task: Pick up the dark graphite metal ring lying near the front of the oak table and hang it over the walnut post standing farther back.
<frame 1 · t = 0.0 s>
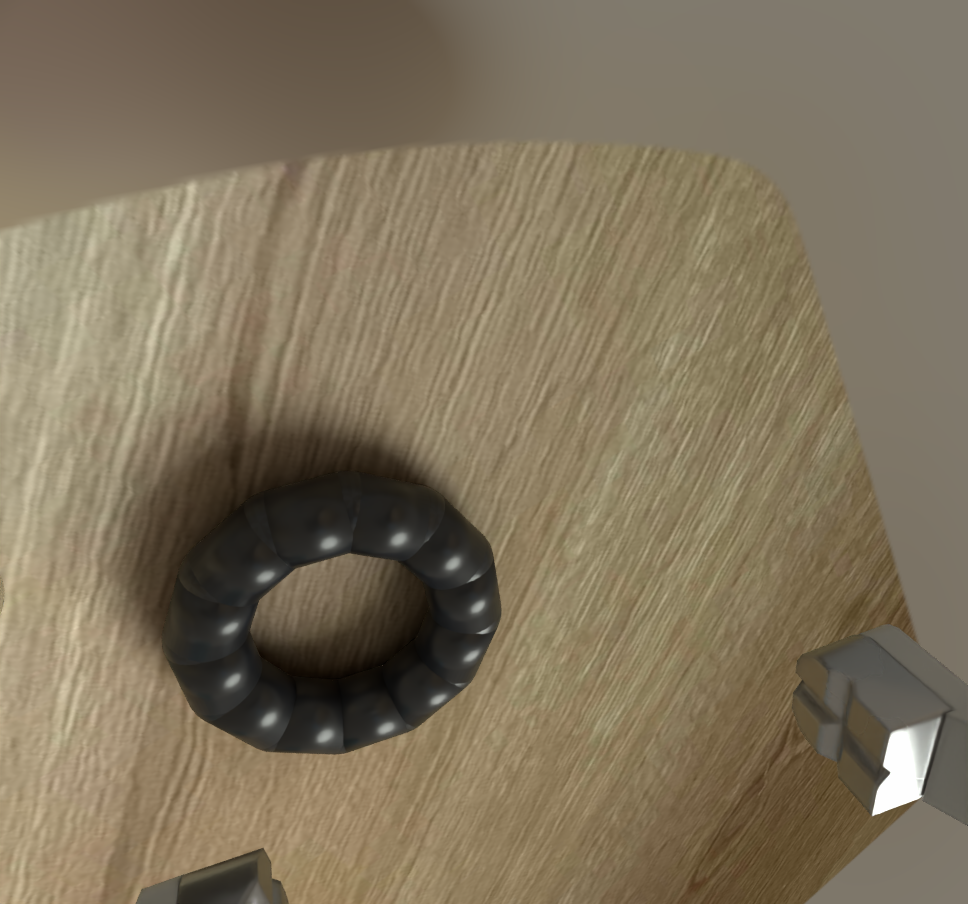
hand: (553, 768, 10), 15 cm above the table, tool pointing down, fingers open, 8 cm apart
ring: (343, 621, 25), point 1 cm above the table
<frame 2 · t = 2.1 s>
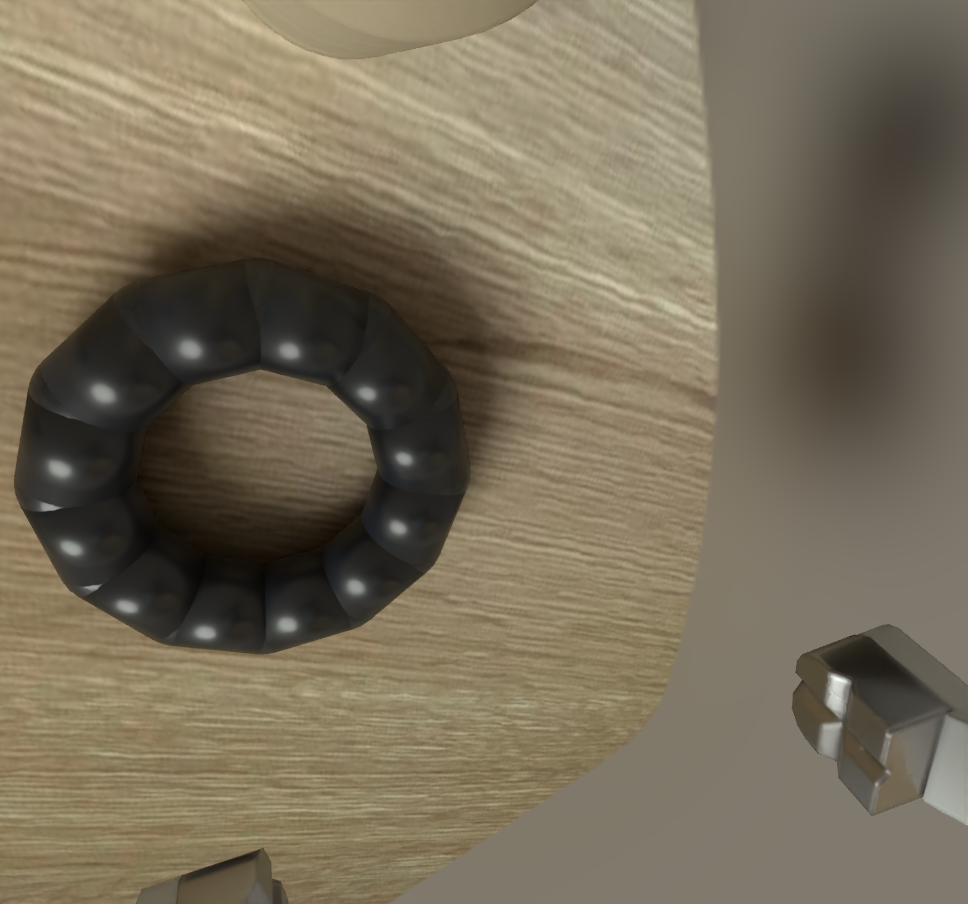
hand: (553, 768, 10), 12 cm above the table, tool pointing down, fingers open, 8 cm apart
ring: (262, 476, 19), point 1 cm above the table
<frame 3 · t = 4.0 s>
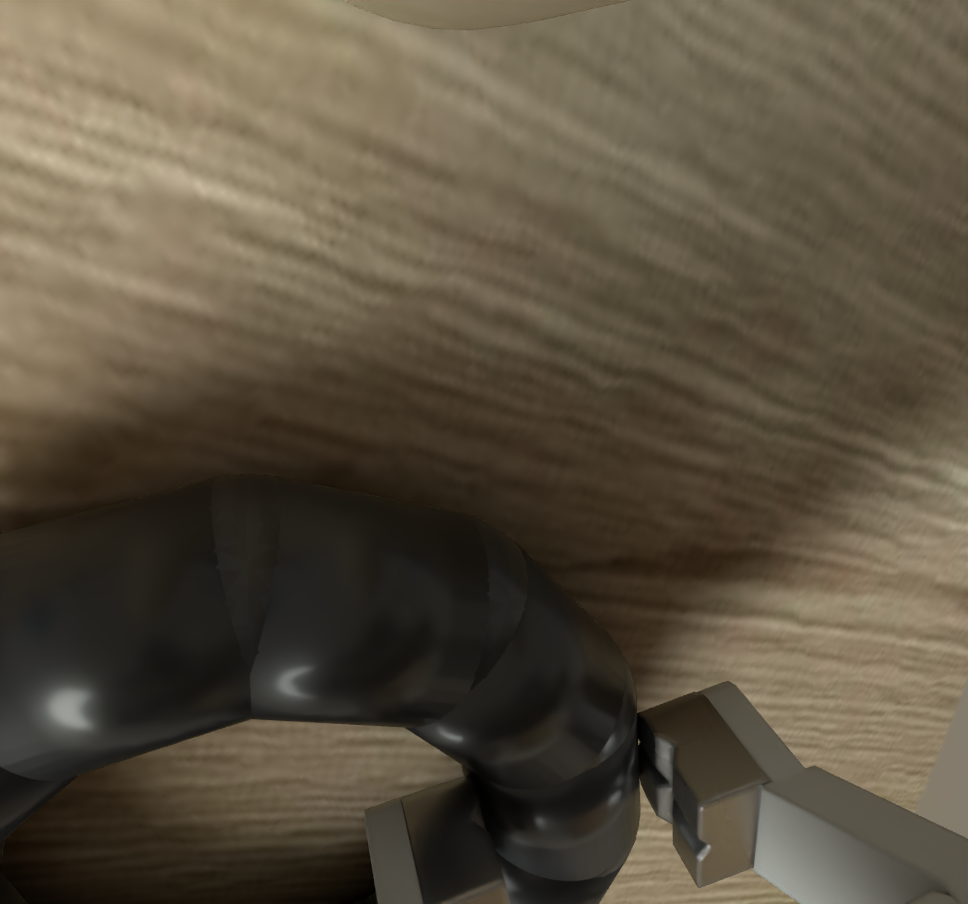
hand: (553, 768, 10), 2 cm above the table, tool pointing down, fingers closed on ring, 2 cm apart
ring: (256, 856, 10), point 1 cm above the table, touching gripper
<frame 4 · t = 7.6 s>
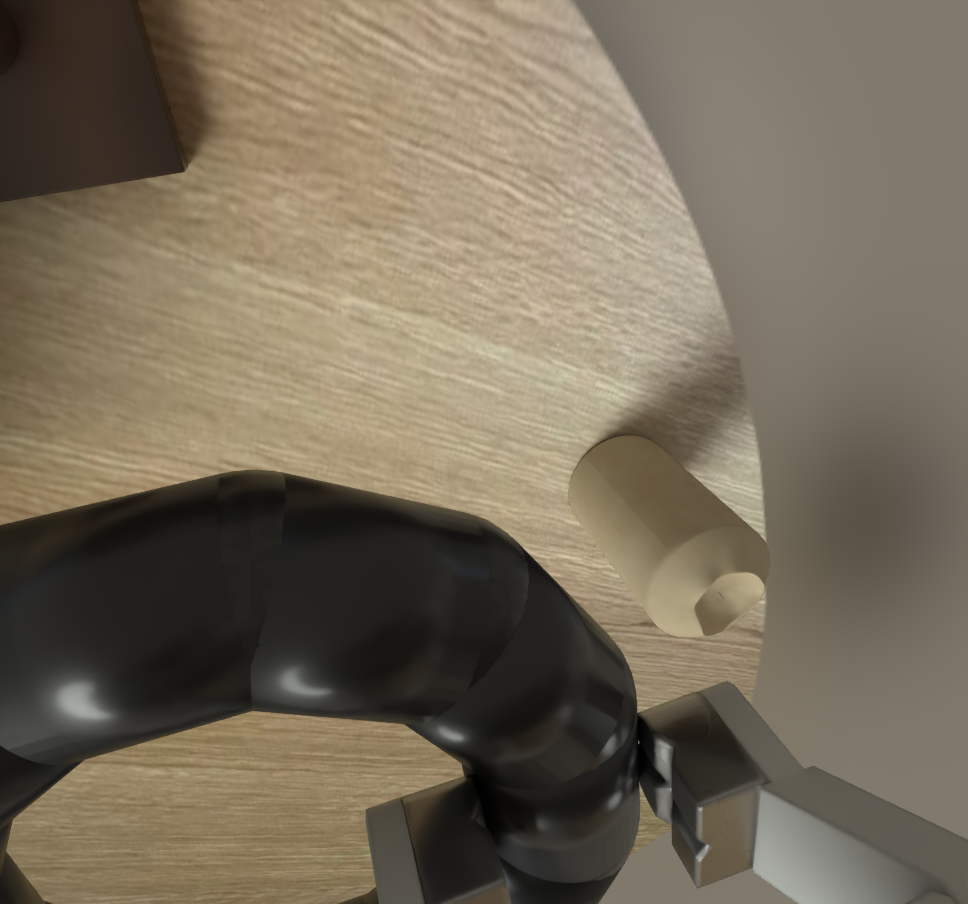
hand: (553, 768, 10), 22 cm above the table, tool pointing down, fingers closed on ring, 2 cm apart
candle: (615, 480, 36), on the table
ring: (256, 847, 10), point 21 cm above the table, touching gripper
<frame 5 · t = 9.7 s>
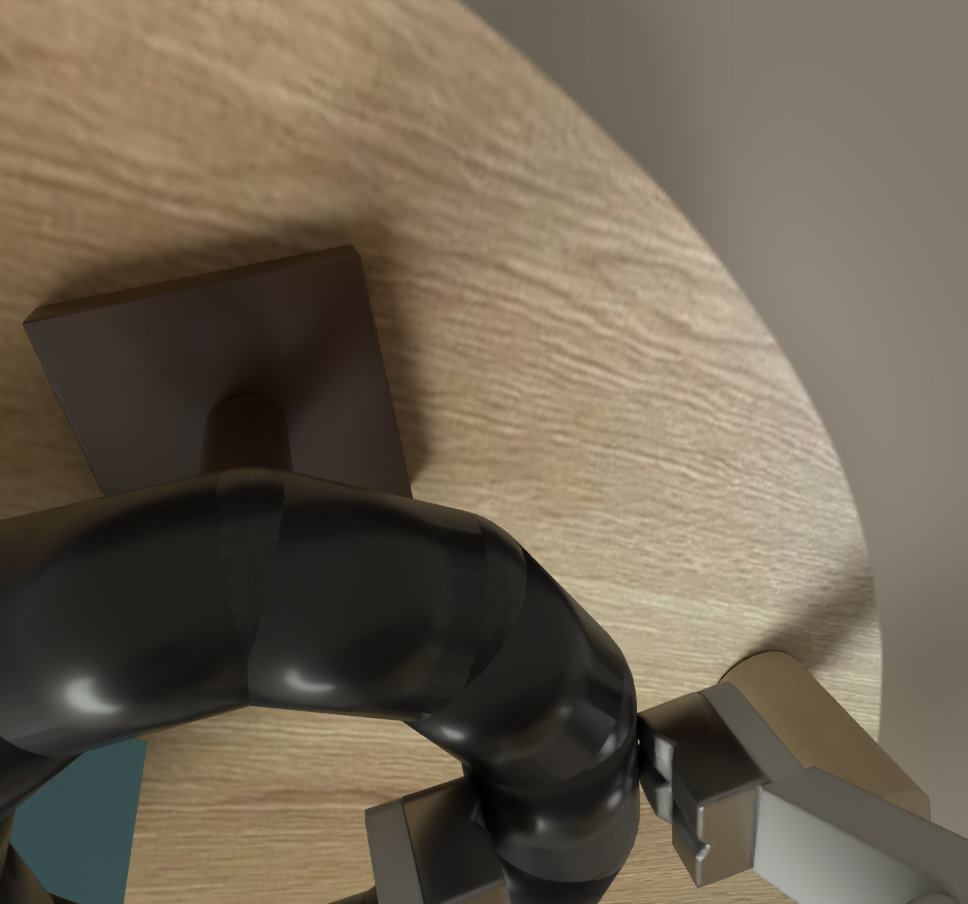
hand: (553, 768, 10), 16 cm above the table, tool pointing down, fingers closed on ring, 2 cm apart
stand: (246, 411, 23), on the table
candle: (751, 687, 38), on the table
ring: (256, 842, 10), point 15 cm above the table, touching gripper
when the fingers open (12 cm above the table, at t = 11.2 s): ring drops 8 cm, resting on stand.
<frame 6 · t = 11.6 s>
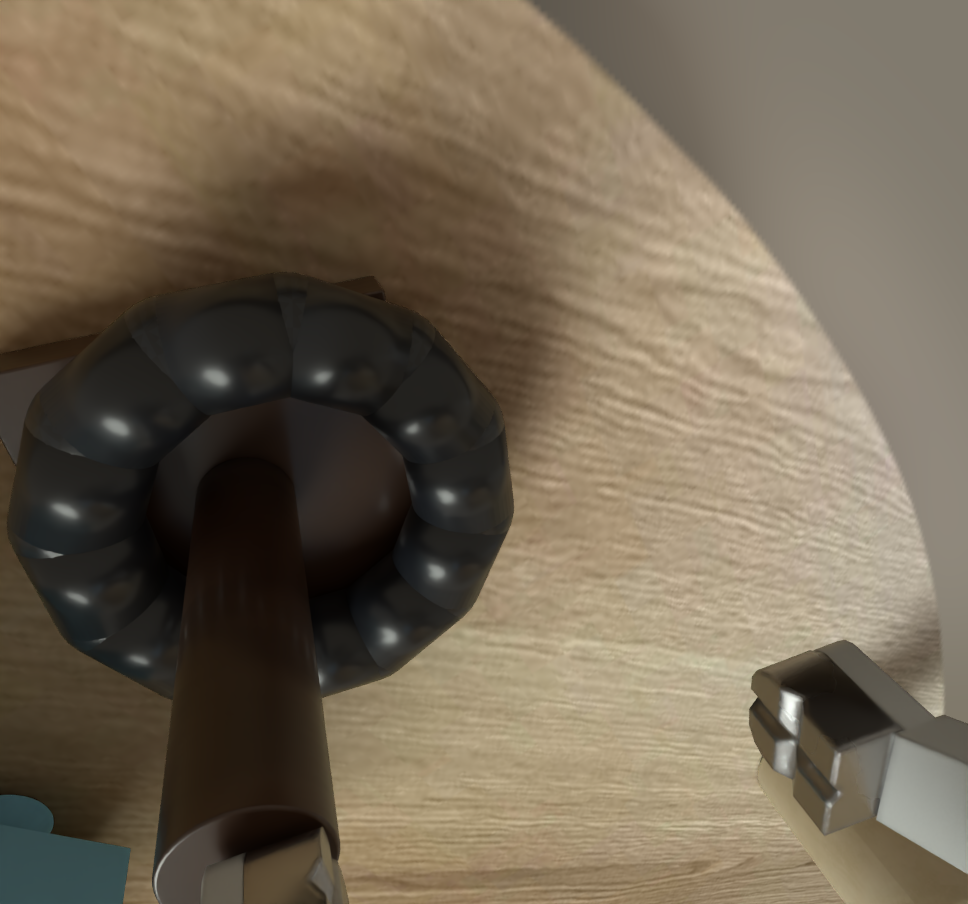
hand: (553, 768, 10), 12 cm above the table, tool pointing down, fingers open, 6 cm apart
stand: (246, 471, 19), on the table
candle: (803, 749, 34), on the table
ring: (286, 513, 17), point 3 cm above the table, touching stand
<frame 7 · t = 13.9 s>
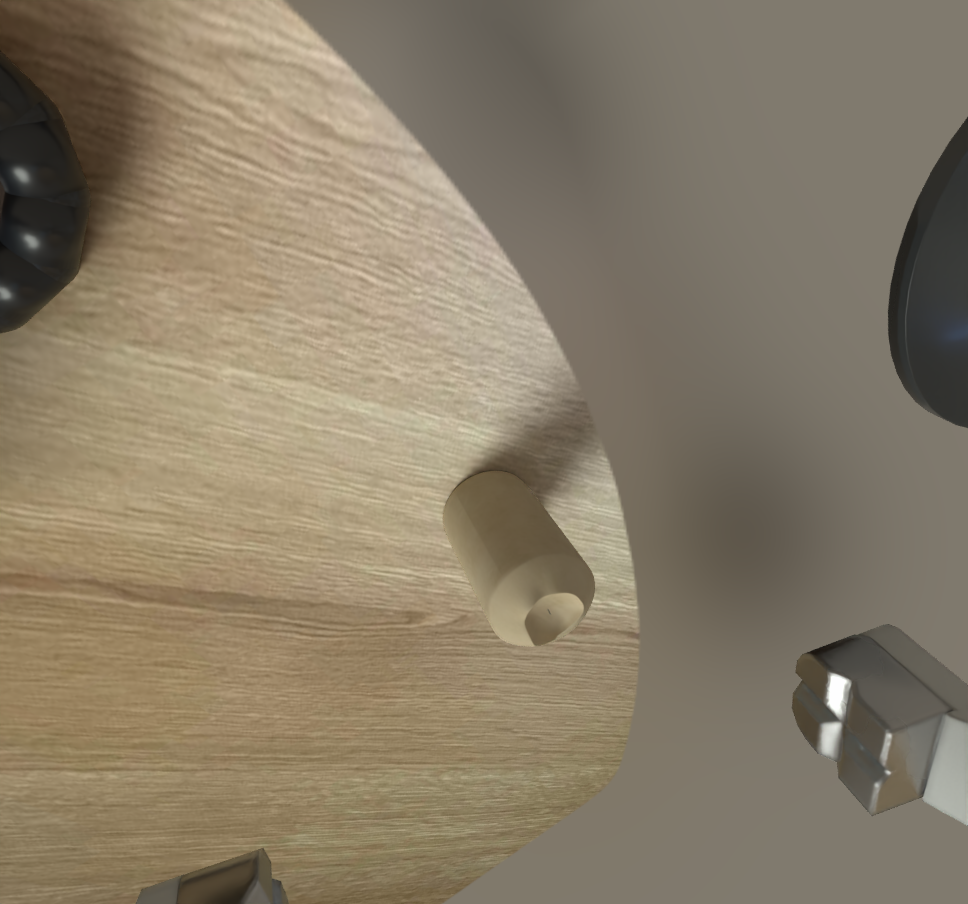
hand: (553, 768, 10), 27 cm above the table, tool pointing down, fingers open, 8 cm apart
candle: (486, 509, 41), on the table
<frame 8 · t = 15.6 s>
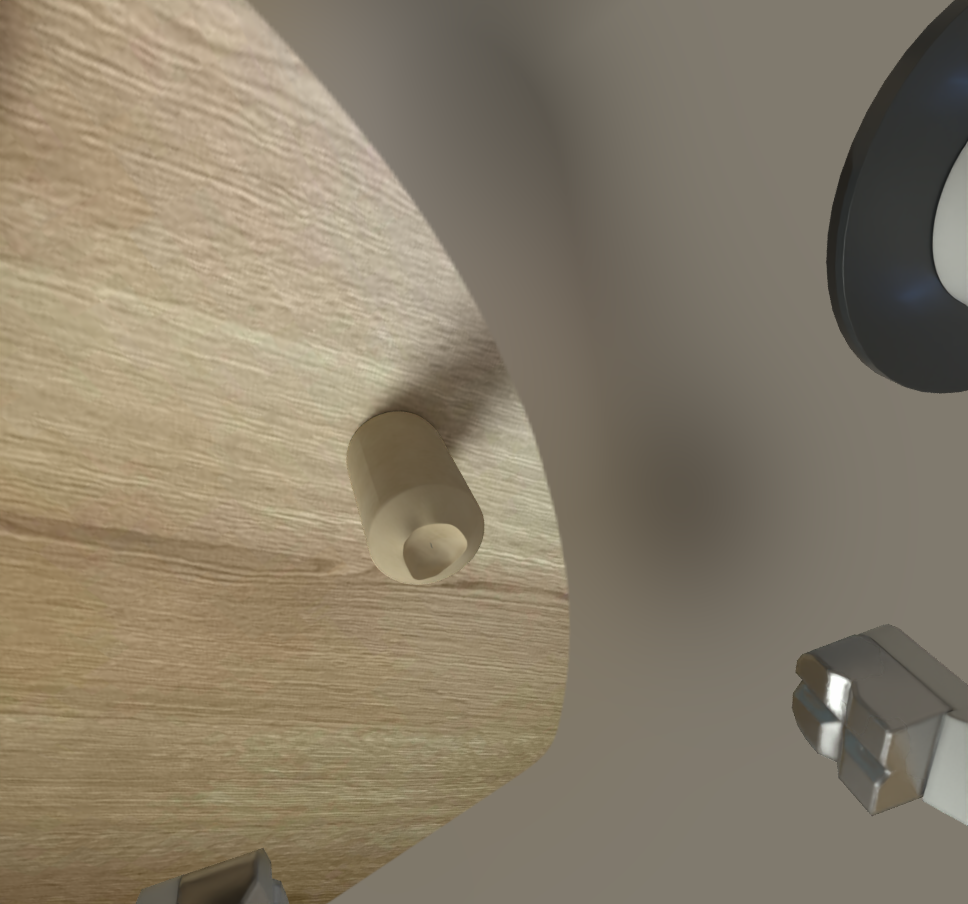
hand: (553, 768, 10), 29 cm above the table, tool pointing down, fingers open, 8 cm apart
candle: (393, 453, 40), on the table
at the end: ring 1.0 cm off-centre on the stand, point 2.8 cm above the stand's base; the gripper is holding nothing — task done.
